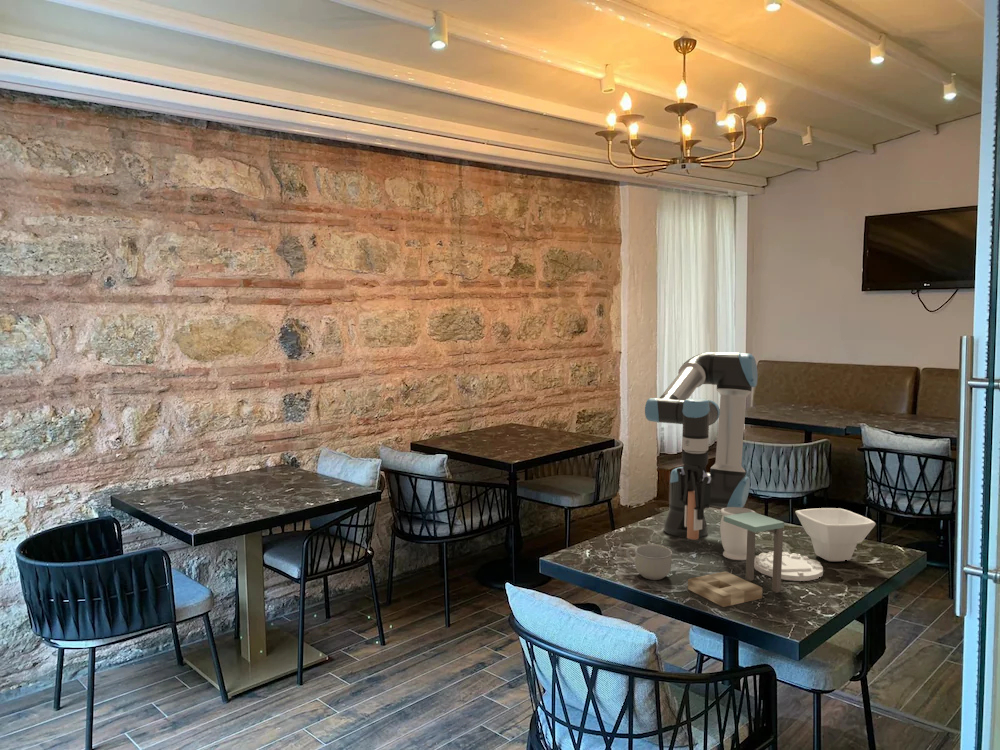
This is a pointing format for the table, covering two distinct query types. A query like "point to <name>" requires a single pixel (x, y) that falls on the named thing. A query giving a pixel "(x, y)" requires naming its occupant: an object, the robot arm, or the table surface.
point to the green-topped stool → (753, 525)
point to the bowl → (834, 531)
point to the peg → (691, 517)
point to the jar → (733, 535)
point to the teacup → (651, 560)
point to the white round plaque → (790, 566)
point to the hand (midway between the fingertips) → (693, 527)
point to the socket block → (724, 588)
